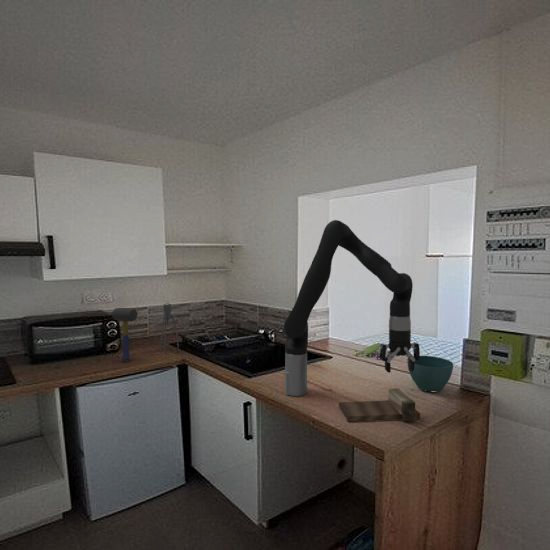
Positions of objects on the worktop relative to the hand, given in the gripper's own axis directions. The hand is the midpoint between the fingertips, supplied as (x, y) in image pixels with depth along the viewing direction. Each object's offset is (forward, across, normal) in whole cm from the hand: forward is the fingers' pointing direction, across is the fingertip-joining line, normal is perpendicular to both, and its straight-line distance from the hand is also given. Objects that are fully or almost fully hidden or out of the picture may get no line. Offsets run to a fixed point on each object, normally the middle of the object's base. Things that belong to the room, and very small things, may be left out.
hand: (399, 371), depth 131 cm
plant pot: (+16, +23, +21) cm, 35 cm away
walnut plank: (+15, -8, 0) cm, 17 cm away
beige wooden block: (+15, 0, -1) cm, 15 cm away
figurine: (+16, +21, +78) cm, 82 cm away
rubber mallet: (+14, -123, +78) cm, 147 cm away
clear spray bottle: (+14, -104, +95) cm, 142 cm away
